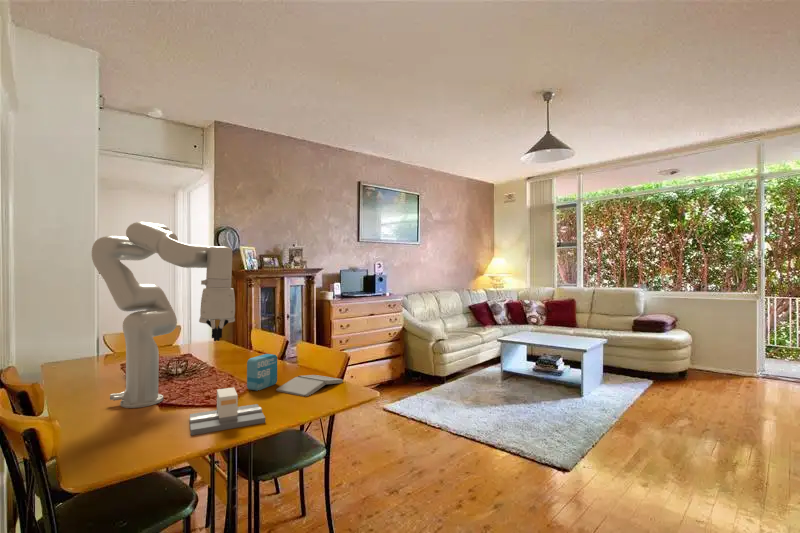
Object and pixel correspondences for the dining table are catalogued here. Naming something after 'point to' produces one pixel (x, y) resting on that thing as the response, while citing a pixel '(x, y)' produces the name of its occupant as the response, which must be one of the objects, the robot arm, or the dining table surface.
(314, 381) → the grey bent flat piece
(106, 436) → the dining table surface
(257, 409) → the rail board
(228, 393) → the module
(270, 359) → the data package
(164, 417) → the dining table surface
